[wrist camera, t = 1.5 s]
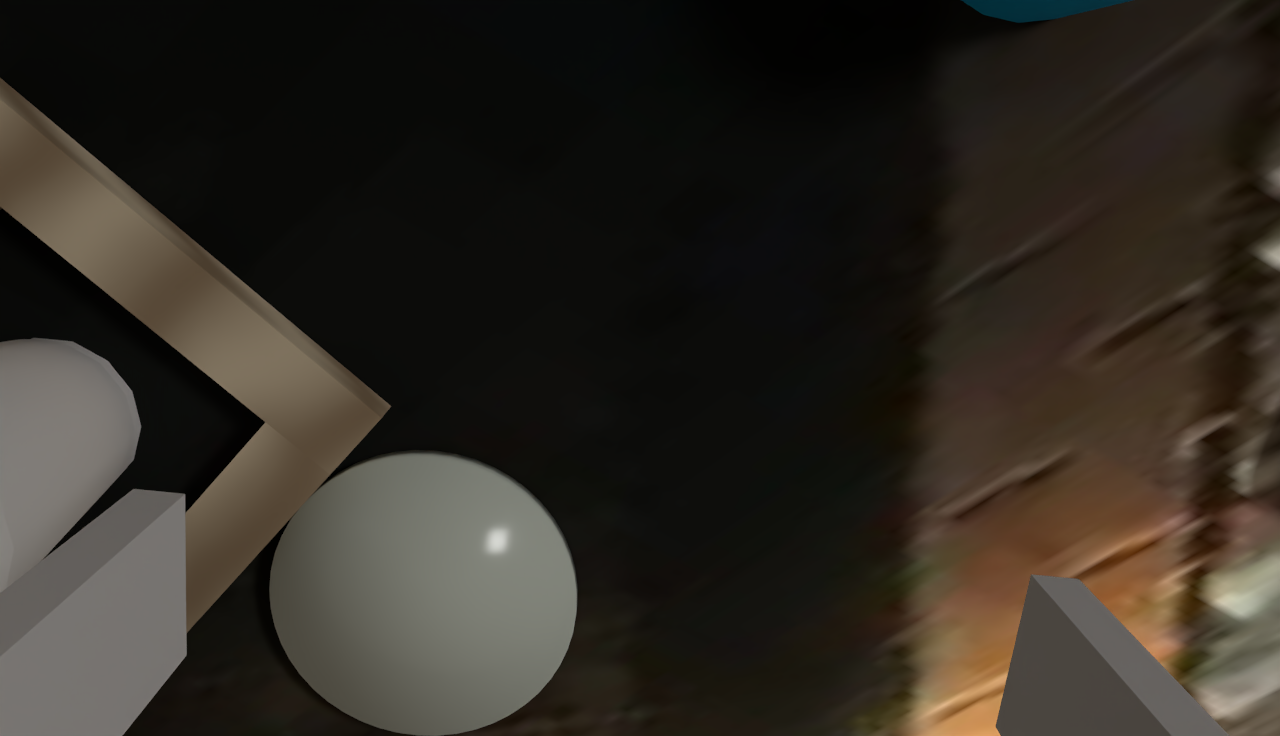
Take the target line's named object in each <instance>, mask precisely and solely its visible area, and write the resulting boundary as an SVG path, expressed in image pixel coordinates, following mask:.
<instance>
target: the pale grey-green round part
mask: <svg viewBox="0 0 1280 736" xmlns="http://www.w3.org/2000/svg"><path fill="white" fill-rule="evenodd" d="M269 591H270V606H271V612H272V616H273V621H274V626H275V628H276V631H277V634H278V637H279V639H280V642H281V644H282V646H283V648H284V650H285V652H286V654H287V656H288V658H289V660H290V661H291V662H292V664H293V665H294V667H295V668H296V669H297V671H298V672H299V674H300V675H301V676H302V677H303V678H304V680H305V681H306V682H307V683H308V684H309V685H310V686H311V687H312V688H313V689H314V690H315V691H316V692H317V693H318V694H320V695H321V696H322V697H323V698H324V699H325V700H327V701H328V702H329V703H331V704H332V705H334V706H335V707H337V708H338V709H340V710H341V711H343V712H344V713H346V714H348V715H350V716H352V717H354V718H356V719H358V720H360V721H362V722H365V723H367V724H370V725H373V726H375V727H378V728H381V729H385V730H389V731H393V732H397V733H404V734H412V735H431V736H438V735H448V734H457V733H462V732H466V731H471V730H475V729H478V728H481V727H484V726H487V725H490V724H492V723H494V722H496V721H498V720H501V719H503V718H505V717H507V716H509V715H510V714H512V713H513V712H515V711H516V710H518V709H519V708H521V707H522V706H524V705H525V704H526V703H528V702H529V701H530V700H531V699H532V698H533V697H534V696H536V695H537V694H538V693H539V692H540V691H541V690H542V688H543V687H544V686H545V685H546V684H547V683H548V682H549V681H550V679H551V678H552V676H553V675H554V673H555V672H556V670H557V669H558V667H559V666H560V664H561V662H562V660H563V658H564V656H565V654H566V652H567V649H568V647H569V644H570V640H571V637H572V634H573V630H574V624H575V618H576V610H577V579H576V571H575V566H574V562H573V559H572V555H571V552H570V549H569V547H568V544H567V542H566V540H565V537H564V535H563V533H562V531H561V530H560V528H559V526H558V525H557V523H556V521H555V520H554V518H553V517H552V515H551V514H550V513H549V512H548V510H547V509H546V508H545V507H544V505H543V504H542V503H541V502H540V501H539V500H538V499H537V498H536V497H535V496H534V495H533V494H532V493H531V492H530V491H529V490H528V489H527V488H525V487H524V486H523V485H521V484H520V483H519V482H517V481H516V480H515V479H513V478H512V477H511V476H509V475H507V474H505V473H504V472H502V471H500V470H498V469H496V468H495V467H493V466H490V465H488V464H486V463H483V462H481V461H478V460H476V459H473V458H469V457H466V456H462V455H459V454H455V453H448V452H442V451H435V450H408V451H398V452H391V453H387V454H383V455H378V456H374V457H371V458H369V459H366V460H363V461H361V462H358V463H355V464H353V465H352V466H350V467H348V468H346V469H344V470H342V471H340V472H338V473H337V474H336V475H334V476H333V477H331V478H330V479H329V480H327V481H326V482H325V483H323V484H322V485H321V486H320V487H319V488H318V489H317V490H316V491H315V492H314V493H313V494H312V495H311V496H310V497H309V499H308V500H307V501H306V502H305V503H304V504H303V505H302V506H301V507H300V508H299V510H298V511H297V512H296V514H295V515H294V516H293V517H292V519H291V520H290V522H289V524H288V525H287V527H286V529H285V531H284V532H283V534H282V536H281V539H280V541H279V544H278V546H277V549H276V551H275V555H274V559H273V563H272V568H271V575H270V587H269Z"/></svg>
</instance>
